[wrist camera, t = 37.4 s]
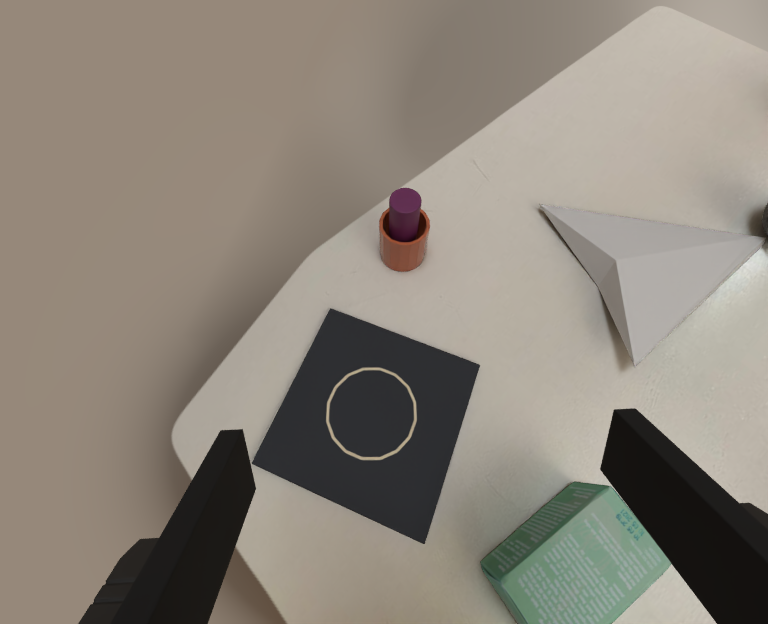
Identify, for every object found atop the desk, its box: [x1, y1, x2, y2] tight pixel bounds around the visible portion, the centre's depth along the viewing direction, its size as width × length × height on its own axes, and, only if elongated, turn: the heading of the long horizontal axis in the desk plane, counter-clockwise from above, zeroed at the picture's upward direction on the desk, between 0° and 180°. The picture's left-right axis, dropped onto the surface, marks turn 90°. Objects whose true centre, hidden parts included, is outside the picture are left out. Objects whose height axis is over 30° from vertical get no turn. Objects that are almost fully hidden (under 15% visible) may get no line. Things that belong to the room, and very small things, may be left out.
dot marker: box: [389, 188, 421, 242], centre depth 46 cm, size 4×4×10 cm
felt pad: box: [252, 308, 480, 544], centre depth 42 cm, size 20×20×1 cm
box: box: [480, 482, 672, 624], centre depth 34 cm, size 7×14×8 cm, turn 124°
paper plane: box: [539, 204, 765, 366], centre depth 49 cm, size 26×28×4 cm
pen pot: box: [379, 208, 430, 272], centre depth 48 cm, size 6×6×6 cm
